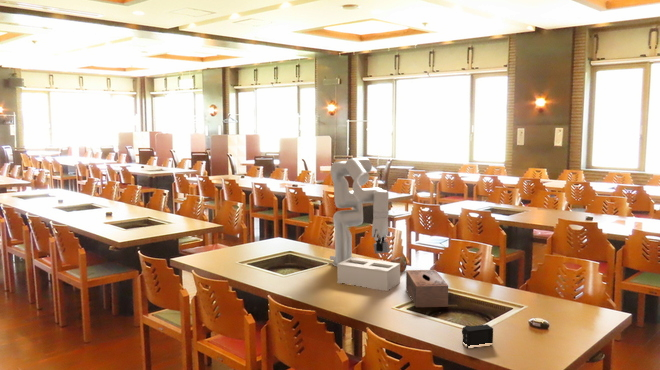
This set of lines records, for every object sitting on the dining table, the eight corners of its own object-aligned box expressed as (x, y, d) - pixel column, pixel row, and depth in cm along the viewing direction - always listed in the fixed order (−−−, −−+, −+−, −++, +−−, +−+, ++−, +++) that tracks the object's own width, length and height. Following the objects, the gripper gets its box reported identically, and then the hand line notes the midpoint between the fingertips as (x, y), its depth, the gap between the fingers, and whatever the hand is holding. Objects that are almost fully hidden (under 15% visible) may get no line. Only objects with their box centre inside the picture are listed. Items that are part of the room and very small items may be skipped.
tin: (393, 276, 298) (393, 261, 297) (388, 275, 300) (388, 260, 299) (407, 270, 310) (407, 255, 309) (402, 269, 312) (402, 254, 311)
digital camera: (485, 340, 214) (485, 322, 213) (492, 345, 209) (493, 328, 208) (460, 343, 211) (461, 325, 210) (468, 349, 206) (468, 331, 205)
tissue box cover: (447, 307, 251) (448, 285, 250) (416, 307, 251) (416, 286, 249) (435, 289, 277) (435, 269, 276) (406, 289, 276) (406, 270, 275)
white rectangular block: (337, 282, 288) (337, 263, 286) (352, 274, 301) (351, 256, 300) (387, 291, 274) (387, 271, 272) (400, 282, 287) (400, 263, 286)
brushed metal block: (387, 252, 278) (375, 253, 282) (389, 251, 280) (377, 252, 284) (385, 242, 278) (373, 244, 282) (387, 241, 280) (375, 242, 284)
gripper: (380, 211, 288) (380, 246, 290) (366, 216, 274) (366, 253, 277) (394, 212, 284) (393, 248, 286) (380, 218, 270) (380, 254, 273)
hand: (380, 250), depth 281 cm, fingers closed on brushed metal block, 2 cm apart
